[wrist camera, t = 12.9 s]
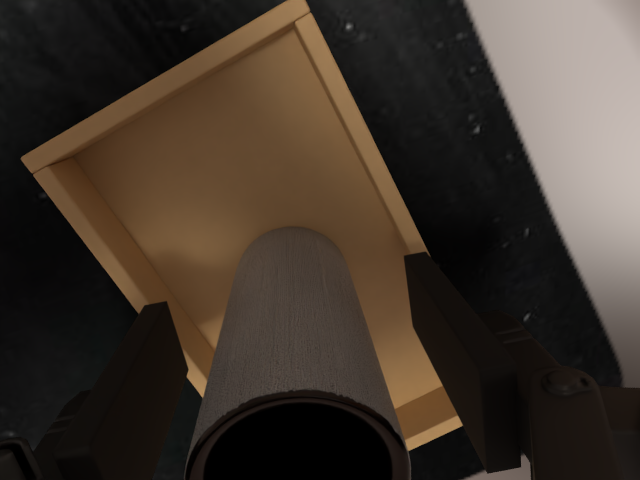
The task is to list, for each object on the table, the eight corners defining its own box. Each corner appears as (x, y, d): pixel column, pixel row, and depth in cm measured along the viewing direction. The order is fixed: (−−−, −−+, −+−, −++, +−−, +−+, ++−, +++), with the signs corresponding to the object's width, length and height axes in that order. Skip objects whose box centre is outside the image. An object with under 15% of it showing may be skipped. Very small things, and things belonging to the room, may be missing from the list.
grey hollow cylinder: (223, 237, 18) (152, 419, 9) (338, 214, 18) (397, 370, 9) (250, 337, 20) (216, 589, 10) (356, 316, 20) (424, 547, 10)
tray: (56, 146, 17) (18, 158, 15) (299, 4, 16) (301, -9, 14) (286, 462, 23) (286, 508, 20) (479, 369, 22) (503, 406, 19)
